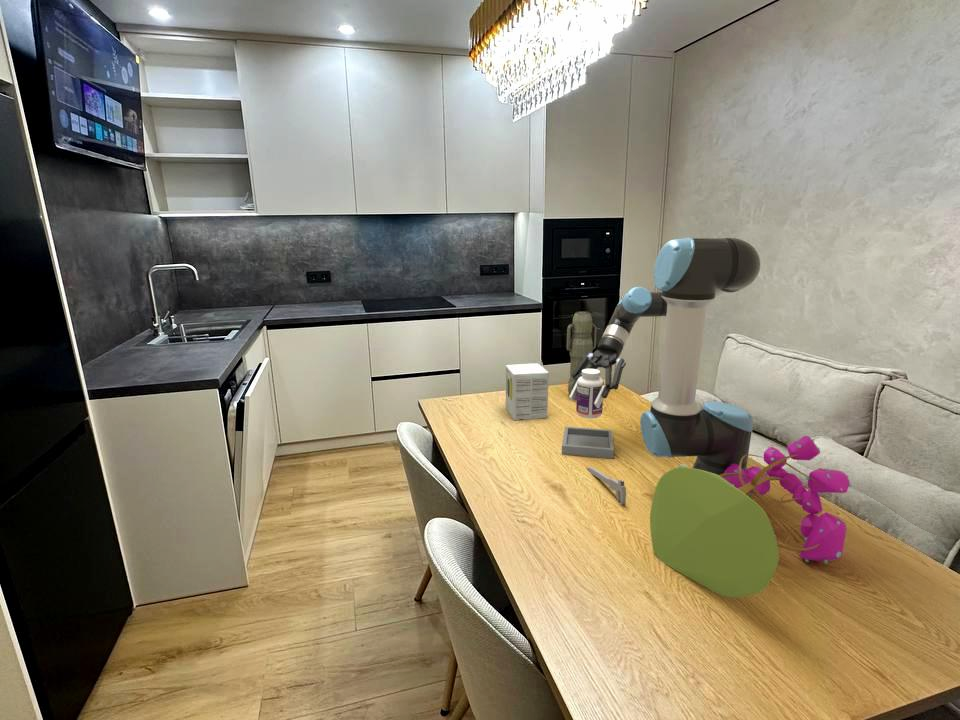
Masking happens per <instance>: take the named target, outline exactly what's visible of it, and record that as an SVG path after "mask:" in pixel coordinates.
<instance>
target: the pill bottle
mask: <svg viewBox="0 0 960 720" xmlns="http://www.w3.org/2000/svg"><path fill="white" fill-rule="evenodd" d="M602 385H603V386H605V382H604V379H603V378H602V377H601V371H600V370H599V369H598V368H597V369H583V370H582V377H580V378H579V379H578V380H577V400H576V404H575V405H576V408H575V410H576V411H575V412H576V415H578V416H579V417H581V418H584V419H597V418H599V417H601V416H602V415H603V406H604V403H603V402H604V400H603V401H602V403H601V405H600V407H599V408H597V407H596V406H595V404H594V402H595V400H596V398H597V396H598V394H599V392H600V390H601V387H602Z"/></svg>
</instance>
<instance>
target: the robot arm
mask: <svg viewBox="0 0 960 720" xmlns="http://www.w3.org/2000/svg"><path fill="white" fill-rule="evenodd" d="M760 270H761V257H760V254H758V251H757V250H756V248H755V247H754V246H753V245H752V244H750V242H748V241H746V240H744V239H741V238H736V237H723V238H721V237H720V238H718V237H717V238H716V237H712V238H710V237H705V238H703V237H688V238H687V237H685V238H677V239H671V240H669V241H667V242H666V243H665V244H664V245H663V246H662V247H661V249H660V251H659V252H658V255H657V256H656V259H655V264H654V269H653V278H654V282H653V283H654V285H655V287H656V289H657V290H659V291H653V292H652V291H649V290H648V289H647V288H645V287H642V286H636V287H633V288H631V289H630V290H629V291H627V292H626V293H625V295H624V296H623V298H622V299H621V300H620V301H619V302H618V304H617V305H616V306H615V309H614V311H613V313H612V316H611V318H610V320H609V322H608V324H607V326H606V328H605V330H604V332H603V334H602V337H601V338H600V340H599V342H598V345H596V350H595V351H594V352H592V353H588V352H585V354H584V357H583V359H582V360H581V362H580V363H579V365H578V366H577V367H576V369H575V370H574V372H573V373H572V374H571V376H572V377H573V379H574V380H575V381H574V383H573V385H572V392H571V394H570V396H569V397H568V399H570V400H571V402H573V403H574V402H575V401H576V400H575V399H576V397H577V380H578V379H579V378H580V377H582V370H583V369H597V370H598V368H602V369H605V371H604V372H605V382H604V386H603V385H602V387H601V390H600V392H599V394H598V396H597V398H596V400H595V402H594V404H595V406H596V407H597V408H599V407H600V405H601V403H602V401H603V402H604V399H605V400H606V399H607V398H608V396H609V394H610V391H611V390H614V391H616V390H618V389H619V385H620V381H621V378H622V373H623V369H624V368H625V366H626V365H627V363H626V361H625V359H624V358H623V357H621V358H619V357H620V355H621V354H622V351H623V350H624V347H625V346H626V343H627V340H628V338H629V336H630V335H631V332H632V330H633V328H634V326H635V324H637V321H639V319H640V318H649V317H651V318H652V317H653V318H654V317H655V318H657V317H665V325H664V335H663V344H662V345H663V346H662V356H661V362H660V363H661V366H660V374H659V382H658V383H659V385H658V395H657V397H655V398H654V399H653V400H652V401H651V402H650V403H651V404H650V410H645V411H643V412H642V414H641V416H640V421H639V422H640V424H639V425H640V432H641V436H642V440H643V444H644V445H645V447H646V449H647V451H648V452H649V453H650V455H651V456H654V457H657V458H669V459H670V458H678V457H679V458H685V457H696V459H695V461H694V463H693V465H692V467H691V468H694V469H699V470H703V471H707V472H710V473H713V474H716V475H720V474H723V473H724V471H725V470H726V469H727V468H728V467H729V466H730V465H731V464H737V465H739V464H740V460H741V458H742V457H743V456H744V455H748V454H749V451H750V446H751V440H752V433H753V432H754V430H753V424H754V423H753V416H752V415H751V413H750V412H749V411H748V410H745V409H744V408H742V407H740V406H737V405H734V404H731V403H727V402H723V401H722V402H721V401H714V400H713V401H706V402H704V403H703V405H702V406H700V405H699V404H698V403H697V401H696V396H697V386H698V378H699V371H700V362H701V354H702V345H703V337H704V329H705V322H706V314H707V306H708V305H709V304H710V303H711V302H713V301H714V300H716V298H717V297H719V296H721V295H723V294H725V293H727V294H729V293H732V294H733V293H736V292H739V291H741V290H743V289H744V288H747V287H748V286H750V285H751V284H752V283H753V282H754V281H755V280H756V279H757V277H758V275H759V273H760ZM589 361H591V362H590V364H589V365H588V363H589ZM615 364H616V366H615V368H614V369H615V370H614V374H612V372H613V366H614V365H615ZM587 365H588V366H587ZM586 366H587V367H586ZM585 367H586V368H585ZM612 375H613V378H612ZM701 408H702V409H701ZM748 459H749V456H746V457H744V458H743V460H742V464H741V468H742V469H743V470H744V472H745V471H746V470H747V469H748V468H747V467H748ZM751 494H752V493H751V492H750V495H749V497H750V498H751Z"/></svg>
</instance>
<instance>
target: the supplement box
mask: <svg viewBox="0 0 960 720" xmlns="http://www.w3.org/2000/svg"><path fill="white" fill-rule="evenodd" d="M549 374H550V373H549V371H548V370H547V369H545V367H544V366H542V365H541V364H540V363H537V362H536V363H535V362H534V363H533V362H532V363H517V364H515V363H514V364H506V365H505V409H506V411H507V410H508V411H507V412H508V414H509V413H510V414H509V415H510V417H511V419H512V420H513V421H520V420H519V419H524V420H535V419H536V420H537V419H545V418H546V419H548V408H549V407H548V406H549V405H548V404H549V403H548V402H549V376H550V375H549Z"/></svg>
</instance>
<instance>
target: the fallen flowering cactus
mask: <svg viewBox="0 0 960 720" xmlns="http://www.w3.org/2000/svg"><path fill="white" fill-rule="evenodd" d="M786 449H787V452H788V455H785V454H783V452H781V451H780V450H779V449H778V448H775V447H774V446H768V448H767V449H766V450H765V451H764V452H763V456H761V455H756V454H752V453H750V454H749V453H748V455H744V456H743V457H742V458H741V460H740V464H739V465H737V464H731V465H730V466H729V467H728V468H727V469H726V470H725V471H724V473H723V474H720V475H716V474H713V473H710V472H707V471H703V470H699V469H694V468H692V467H689V466H687V465H685V464H680V465H678V467H675V468H672V469H670V470H668V471H666V472H665V473H663V474H662V476H661V477H660V478H659V480H658V483H657V484H656V486H655V488H654V489H655V490H654V492H653V496H652V501H651V506H650V513H649V526H650V528H649V529H650V538H651V545H652V550H653V552H654V553H653V554H654V555H655V556H656V557H657V559H658V560H659V561H660V562H662V563H663V564H664V565H666V566H668V567H670V568H671V569H673V570H675V571H677V572H678V573H680V574H682V575H684V576H685V577H687V578H688V579H690V580H692V581H694V582H696V583H698V584H700V585H701V586H702V587H704V588H706V589H708V590H710V591H712V592H714V593H715V594H717V595H720V596H721V597H727V598H745V597H749V596H752V595H755V594H758V593H760V592H761V591H763V590H764V589H766V587H768V585H769V584H770V582H771V579H772V578H773V576H774V574H775V572H776V570H777V568H778V565H779V559H780V556H779V555H780V554H779V548H780V549H781V548H782V549H786V550H789V551H795V552H799V557H800V558H801V559H803V560H804V561H805V562H806V563H809V562H810V561H815V562H824V563H825V564H828V563H829V562H831V561H835V560H840V558H841V557H842V555H843V552H844V547H845V546H844V544H845V541H846V533H847V525H846V523H845V521H843V519H841V518H840V517H838V516H836V515H834V514H831V513H829V512H824V513H822V512H823V510H824V509H823V503H822V501H821V496H820V495H823V494H824V493H825V494H826V493H828V494H829V493H830V494H831V493H835V494H844V493H845V494H846V493H847V492H848V490H849V488H851V487H853V484H851V483H850V479H849V477H850V476H849V475H848V474H847V473H845V472H843V471H841V470H837V469H836V470H835V469H829V468H821V467H820V468H817V469H815V470H813V471H810V472H809V475H807V474H805V473H803V472H801V471H800V470H799V469H797V468H796V467H794V466H792V465H791V464H789V463H788V460H789V459H791V460H793V461H811V460H813V459H815V458H816V457H817V456H818V455H819V454H821V451H820V449H821V448H820V447H818V445H817V444H816V443H815V439H812V438H811V437H810V436H809V435H804V436H802V437H800V438H799V439H798V438H797V440H795V441H793V442H792V443H790V444H788V445H787V446H786ZM746 456H748V457H749V456H751V457H757V458H763V461H764V462H765V463H766V464H767V466H764V467H763V468H761V467H758V466H751V467H748V468H747V470H746V471H745V472H744V470H743V469H742V468H741V464H742V460H743V458H744V457H746ZM785 465H786V466H788V467H789V468H791V469H793V470H794V471H795V472H798V473H800V474H801V475H803V476H804V477H805V479H806V480H807V484H806V485H807V488H808V490H807V488H806V487H805V486H804V483H803V481H802V480H801V479H800V478H799V477H798V476H797V475H796V474H794V473H790V472H788V471H786V469H785V468H783V467H784V466H785ZM770 481H779V484H780V487H782V488H783V489H784V490H785V491H787V492H788V493H786V494H784V495H783V496H781V499H780V500H779V499H778V500H777V499H769V498H767V497H765V496H764V495H765V494H767V493H769V492H770V490H771V482H770ZM750 492H751V494H752V495H755V496H756V497H757V498H758V499H760V500H762V501H764V502H766V503H769V504H786V503H790V502H791V503H792V502H794V501H795V503H796V504H798V505H800V506H801V507H802V510H803V511H805V512H806V513H808V514H806V515H805V516H804V517H803V518H802V520H801V522H800V525H797V526H794V527H793V528H791V530H790V531H789V532H788V533H787V535H786V539H785V544H783V543H781V542H779V541H778V539H777V535H776V534H775V531H774V528H773V525H772V522H771V521H770V519H769V516H768V515H767V513H766V511H765V510H764V509H763V508H762V506H760V505H759V503H757V502H756V501H755V500H754V499H752V498H751V495H750ZM749 495H750V497H749ZM788 495H792V498H790V499H787V500H786V499H785V500H784V497H785V496H788ZM820 513H822V514H820ZM818 514H820V515H819V516H818ZM799 527H800V533H801V535H802V536H803V537H804V541H805V542H804V544H803V546H802V548H801V547H792V546H790V544H789V542H788V540H789V536H790V534H791V532H792V531H794V530H795V529H796V528H799Z"/></svg>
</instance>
